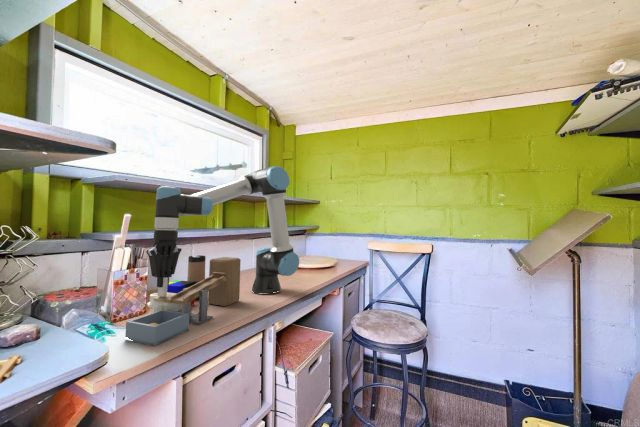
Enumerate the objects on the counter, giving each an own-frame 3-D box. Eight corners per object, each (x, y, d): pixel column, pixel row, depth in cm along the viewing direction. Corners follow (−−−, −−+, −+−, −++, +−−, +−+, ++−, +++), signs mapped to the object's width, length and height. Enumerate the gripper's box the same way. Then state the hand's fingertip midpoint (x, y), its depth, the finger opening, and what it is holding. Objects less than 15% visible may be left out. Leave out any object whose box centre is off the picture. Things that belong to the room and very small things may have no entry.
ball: (142, 336, 81) (153, 332, 85) (151, 338, 80) (162, 333, 84) (143, 324, 81) (154, 320, 85) (152, 325, 80) (162, 322, 84)
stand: (189, 314, 104) (190, 285, 104) (213, 318, 100) (214, 288, 101) (174, 320, 97) (176, 289, 98) (199, 324, 94) (200, 292, 94)
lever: (200, 278, 116) (199, 270, 115) (226, 280, 111) (226, 272, 111) (153, 301, 94) (152, 292, 94) (184, 305, 90) (183, 296, 90)
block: (207, 304, 118) (208, 258, 119) (222, 298, 127) (224, 256, 128) (225, 307, 114) (226, 260, 115) (240, 301, 124) (241, 257, 125)
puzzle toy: (178, 311, 108) (179, 286, 109) (157, 309, 110) (158, 284, 111) (194, 304, 118) (195, 281, 118) (174, 302, 120) (175, 280, 120)
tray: (161, 325, 92) (162, 309, 92) (188, 330, 89) (189, 313, 89) (125, 340, 80) (126, 321, 80) (154, 346, 77) (155, 326, 77)
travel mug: (199, 300, 123) (201, 257, 124) (183, 300, 123) (185, 257, 124) (206, 296, 131) (208, 255, 132) (191, 296, 131) (193, 255, 132)
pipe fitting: (171, 313, 105) (172, 292, 106) (154, 319, 98) (155, 297, 99) (159, 311, 107) (160, 291, 108) (142, 316, 101) (143, 295, 101)
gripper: (173, 229, 104) (169, 291, 102) (141, 229, 91) (136, 299, 90) (188, 230, 101) (184, 293, 100) (158, 229, 89) (153, 301, 88)
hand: (162, 295), depth 95 cm, fingers closed
